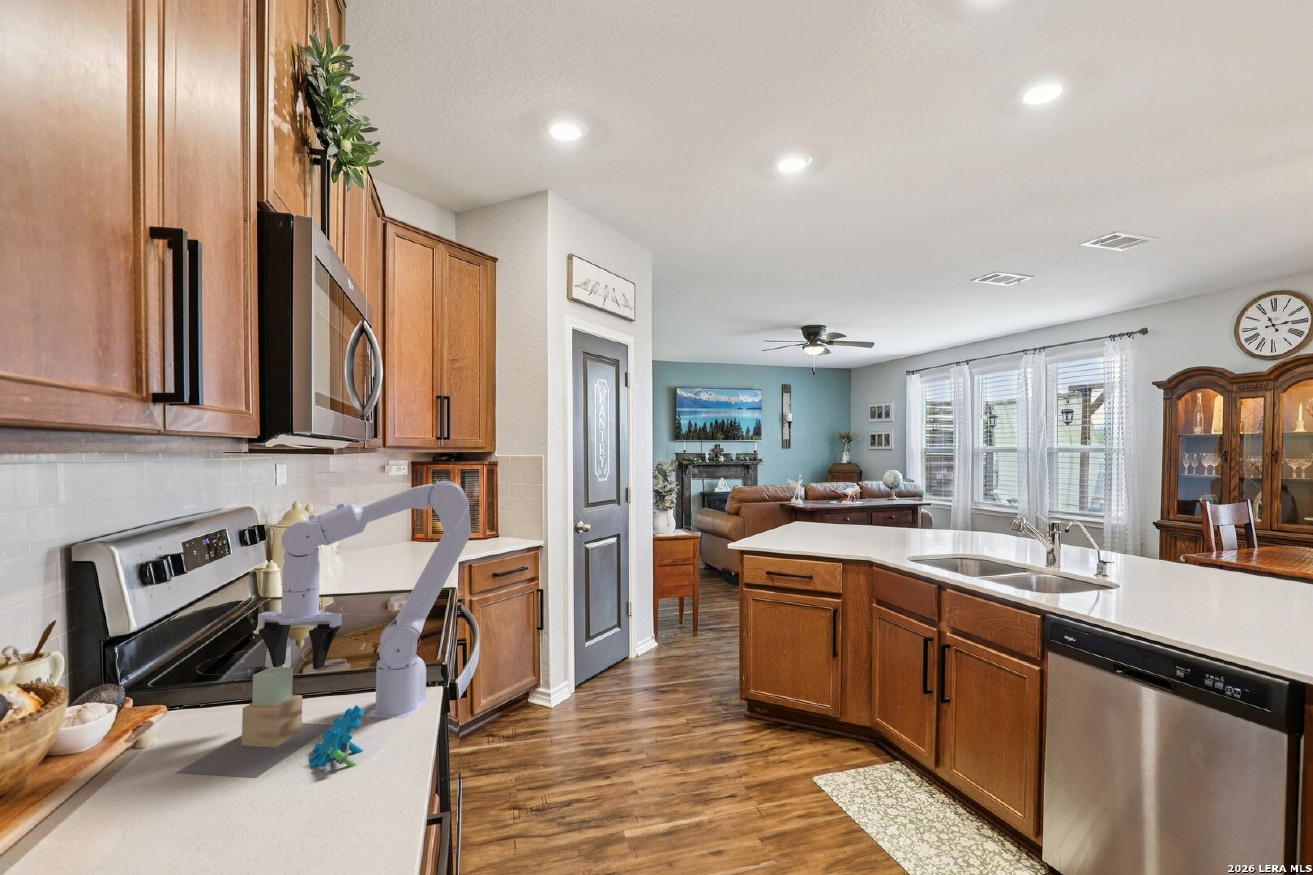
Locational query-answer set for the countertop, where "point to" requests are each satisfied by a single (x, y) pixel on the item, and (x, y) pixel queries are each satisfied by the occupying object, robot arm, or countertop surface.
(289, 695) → the green block
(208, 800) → the countertop surface
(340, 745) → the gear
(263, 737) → the base slab
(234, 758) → the mat
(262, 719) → the top slab
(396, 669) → the robot arm
